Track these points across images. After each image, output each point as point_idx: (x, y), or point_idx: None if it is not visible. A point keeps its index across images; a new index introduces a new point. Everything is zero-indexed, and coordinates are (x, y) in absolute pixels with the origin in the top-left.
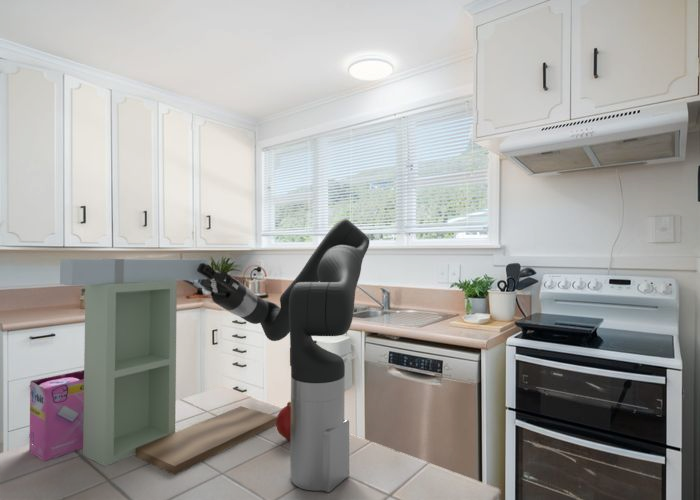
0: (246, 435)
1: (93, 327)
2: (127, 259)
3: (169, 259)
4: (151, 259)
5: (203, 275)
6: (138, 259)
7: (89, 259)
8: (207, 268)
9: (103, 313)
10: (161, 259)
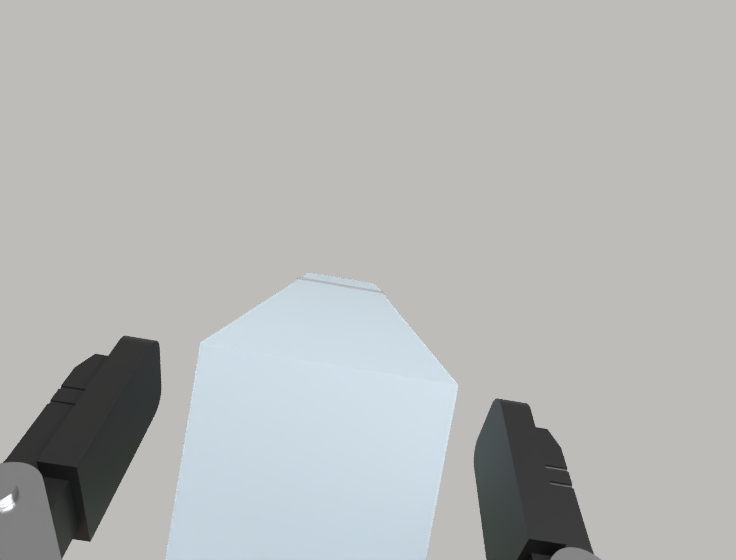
0: None
1: None
2: (297, 280)
3: (399, 326)
4: (333, 297)
5: (123, 472)
6: (304, 285)
7: (307, 274)
8: (76, 392)
9: None
10: (363, 311)
